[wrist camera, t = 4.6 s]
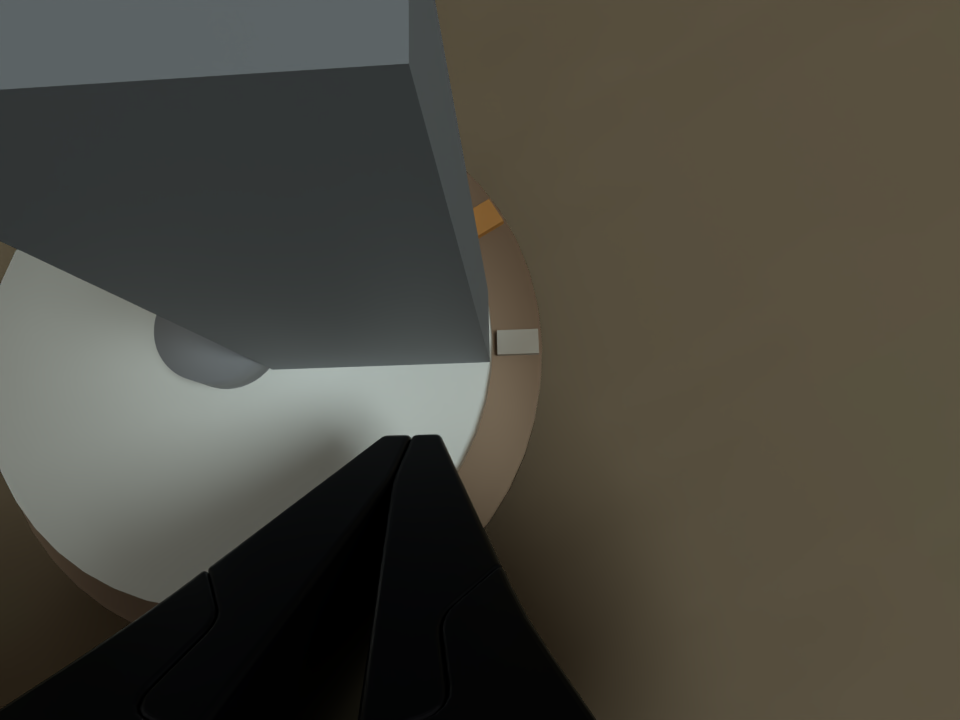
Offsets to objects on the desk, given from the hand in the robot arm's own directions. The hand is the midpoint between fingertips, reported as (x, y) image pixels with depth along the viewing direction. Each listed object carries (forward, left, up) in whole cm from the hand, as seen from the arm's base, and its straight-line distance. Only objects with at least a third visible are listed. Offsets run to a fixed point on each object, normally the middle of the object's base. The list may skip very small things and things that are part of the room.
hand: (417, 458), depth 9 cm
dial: (-1, +6, -6) cm, 8 cm away
